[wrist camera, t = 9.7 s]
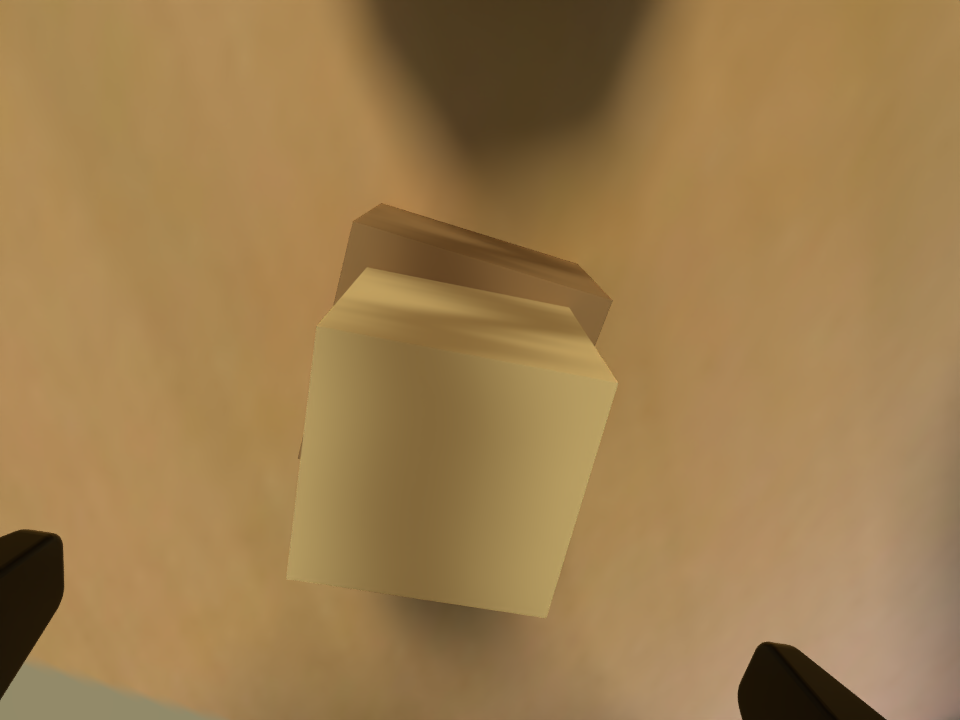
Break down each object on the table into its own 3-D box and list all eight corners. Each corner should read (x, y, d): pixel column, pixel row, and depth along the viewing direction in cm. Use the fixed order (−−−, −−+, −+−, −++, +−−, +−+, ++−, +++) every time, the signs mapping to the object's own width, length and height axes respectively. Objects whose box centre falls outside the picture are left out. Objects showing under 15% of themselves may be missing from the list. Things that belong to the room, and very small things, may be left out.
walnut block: (577, 263, 19) (612, 300, 14) (514, 435, 21) (527, 516, 17) (382, 202, 18) (353, 221, 14) (336, 387, 20) (297, 458, 16)
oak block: (569, 307, 15) (618, 382, 10) (523, 481, 16) (546, 618, 11) (366, 267, 14) (316, 326, 9) (340, 450, 16) (286, 578, 11)
